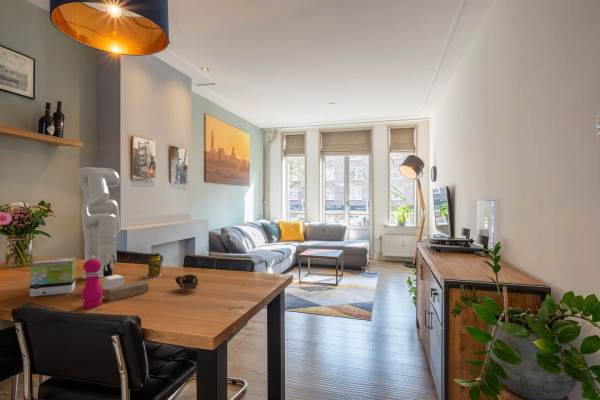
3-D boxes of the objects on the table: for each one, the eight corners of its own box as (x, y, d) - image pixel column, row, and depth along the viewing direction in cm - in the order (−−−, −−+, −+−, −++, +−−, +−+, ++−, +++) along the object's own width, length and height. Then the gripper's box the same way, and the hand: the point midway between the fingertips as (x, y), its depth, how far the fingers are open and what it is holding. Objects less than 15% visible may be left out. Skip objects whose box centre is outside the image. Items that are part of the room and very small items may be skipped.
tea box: (29, 298, 134) (29, 263, 134) (35, 291, 143) (35, 259, 143) (72, 293, 141) (72, 260, 141) (76, 287, 150) (75, 256, 150)
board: (104, 298, 135) (104, 288, 134) (141, 289, 147) (141, 280, 147) (110, 300, 131) (110, 291, 131) (148, 291, 144) (148, 282, 144)
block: (103, 290, 146) (103, 277, 146) (116, 287, 151) (116, 274, 151) (110, 292, 142) (110, 279, 142) (123, 289, 147) (123, 276, 147)
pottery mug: (202, 287, 152) (202, 275, 148) (191, 302, 144) (191, 289, 140) (180, 280, 154) (180, 267, 150) (168, 293, 146) (167, 280, 142)
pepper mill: (88, 302, 129) (88, 253, 129) (106, 302, 130) (106, 253, 129) (77, 308, 122) (77, 257, 121) (96, 308, 122) (96, 257, 122)
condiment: (162, 275, 173) (162, 254, 173) (145, 277, 168) (145, 255, 168) (159, 273, 179) (159, 252, 179) (143, 275, 174) (143, 253, 174)
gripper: (92, 239, 152) (92, 277, 152) (105, 242, 143) (106, 282, 143) (109, 238, 158) (109, 274, 158) (123, 240, 149) (123, 279, 149)
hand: (107, 278), depth 150 cm, fingers closed
